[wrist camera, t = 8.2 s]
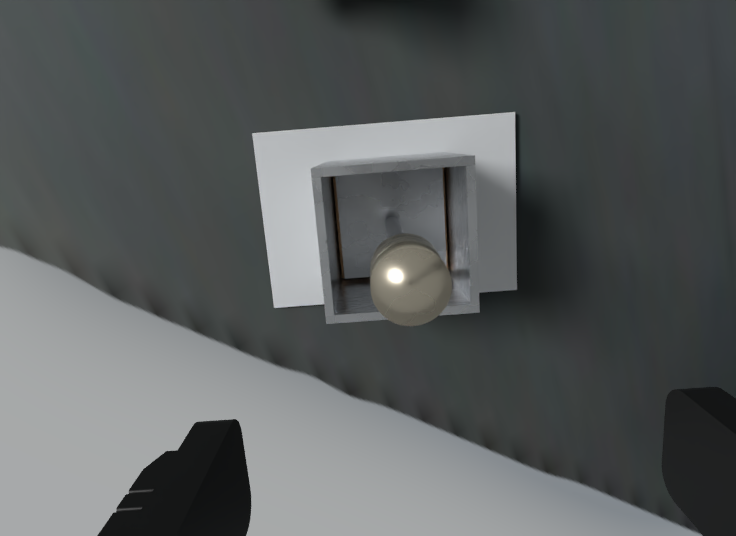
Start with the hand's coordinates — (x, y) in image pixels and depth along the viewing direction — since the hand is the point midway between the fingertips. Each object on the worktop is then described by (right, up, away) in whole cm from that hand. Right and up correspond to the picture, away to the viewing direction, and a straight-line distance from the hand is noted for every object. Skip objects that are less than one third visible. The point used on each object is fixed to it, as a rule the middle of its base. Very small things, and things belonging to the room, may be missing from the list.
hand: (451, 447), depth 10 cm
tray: (0, +8, +32) cm, 33 cm away
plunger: (0, +7, +27) cm, 28 cm away
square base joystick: (0, +8, +32) cm, 33 cm away
